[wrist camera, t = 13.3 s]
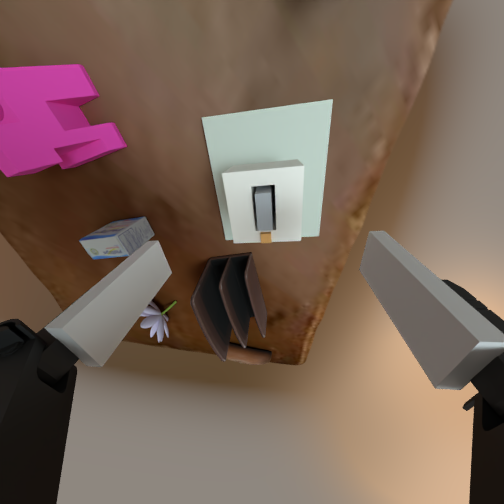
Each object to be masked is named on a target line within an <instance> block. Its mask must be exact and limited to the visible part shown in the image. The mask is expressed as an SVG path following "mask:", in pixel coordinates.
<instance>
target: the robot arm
mask: <svg viewBox="0 0 504 504" xmlns="http://www.w3.org/2000/svg"><path fill="white" fill-rule="evenodd" d="M359 270H360V272H361V273H362V275H363V276H364V278H365V279H366V281H367V283H368V284H369V286H370V287H371V289H372V290H373V292H374V294H375V295H376V297H377V298H378V300H379V301H380V303H381V305H382V306H383V308H384V309H385V311H386V312H387V314H388V315H389V317H390V319H391V320H392V322H393V323H394V325H395V326H396V328H397V329H398V331H399V333H400V334H401V336H402V337H403V339H404V340H405V342H406V344H407V345H408V347H409V348H410V350H411V351H412V353H413V355H414V356H415V358H416V359H417V361H418V362H419V364H420V366H421V367H422V369H423V370H424V372H425V373H426V375H427V377H428V378H429V380H430V381H431V383H432V384H433V386H434V387H435V388H437V389H453V390H461V389H462V388H463V387H464V386H466V385H467V384H468V383H469V382H470V381H471V383H472V384H473V385H474V386H475V387H476V389H477V390H478V391H479V393H477V394H476V395H475V396H473V397H472V398H471V399H469V400H468V401H467V402H466V403H465V404H464V406H463V409H465V410H466V411H467V410H469V409H470V408H472V407H473V406H474V419H473V440H472V441H473V442H472V461H471V479H470V500H469V504H504V321H503V320H502V319H501V318H500V317H499V316H497V315H496V314H495V313H493V312H492V311H491V310H488V309H487V307H486V306H485V305H484V304H482V303H481V302H480V301H477V300H476V298H475V297H474V296H472V295H471V294H470V293H469V292H467V291H466V290H465V289H464V288H462V287H460V286H458V285H456V284H454V283H452V282H451V281H449V280H441V279H439V278H438V277H437V276H436V275H435V274H434V273H432V272H431V271H430V270H429V269H428V268H426V266H424V265H423V264H422V263H421V262H419V260H417V259H416V258H415V257H414V256H413V255H412V254H410V253H409V252H408V251H407V250H406V249H405V248H403V247H402V246H401V245H400V244H399V243H398V242H396V241H395V240H394V239H393V238H392V237H391V236H390V235H388V234H387V233H386V232H385V231H370V232H369V235H368V239H367V242H366V246H365V250H364V254H363V257H362V261H361V265H360V269H359ZM171 273H172V272H171V269H170V267H169V265H168V262H167V260H166V258H165V255H164V253H163V251H162V248H161V246H160V244H159V241H147V242H146V243H145V244H144V245H143V246H141V247H140V248H139V249H138V250H137V251H135V252H134V253H133V254H132V255H131V256H129V257H128V258H127V259H126V260H125V261H123V262H122V263H121V264H120V265H119V266H117V267H116V268H115V269H114V270H113V271H111V272H110V273H109V274H108V275H107V276H105V277H104V278H103V279H102V280H101V281H100V282H98V283H97V284H96V285H95V286H94V287H92V288H91V289H90V290H88V291H87V292H86V293H85V294H83V295H82V296H81V297H80V298H79V299H77V300H76V301H75V302H74V303H73V304H72V305H71V306H69V307H68V308H67V309H65V310H64V311H63V312H62V313H61V314H59V315H58V316H57V317H56V318H55V319H53V320H52V321H51V322H50V323H49V324H48V325H46V326H45V327H44V328H43V329H42V330H40V331H39V332H38V333H35V332H34V331H32V330H31V329H30V328H29V327H28V326H27V325H25V324H24V323H23V322H22V321H20V320H19V319H10V320H7V321H4V322H1V323H0V504H56V502H57V496H58V490H59V483H60V477H61V470H62V464H63V458H64V452H65V446H66V445H65V444H66V439H67V433H68V426H69V420H70V414H71V408H72V401H73V394H74V388H75V382H76V375H77V368H76V366H74V364H75V363H76V362H77V361H78V359H80V360H81V361H82V362H83V363H84V364H85V365H86V366H94V367H102V366H103V365H104V364H105V362H106V361H107V359H108V358H109V357H110V355H111V354H112V353H113V351H114V350H115V349H116V347H117V346H118V345H119V343H120V342H121V341H122V339H123V338H124V337H125V335H126V334H127V333H128V331H129V330H130V329H131V327H132V326H133V325H134V323H135V322H136V320H137V319H138V318H139V316H140V315H141V314H142V312H143V311H144V310H145V308H146V307H147V306H148V304H149V303H150V302H151V300H152V299H153V298H154V296H155V295H156V294H157V292H158V291H159V290H160V288H161V287H162V285H163V284H164V283H165V281H166V280H167V279H168V277H169V276H170V275H171Z"/></svg>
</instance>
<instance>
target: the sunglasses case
mask: <svg viewBox="0 0 504 504" xmlns="http://www.w3.org/2000/svg"><path fill="white" fill-rule="evenodd" d="M271 354H272V352H270V351H265V350H257V349H251V348H247V347H246V348H243V347H242V346H238V345H235V344H230V343H229V347H228V352H227V357H226V358H227V359H229V360H232V361H236V362H239V363H245V364H251V365H257V364H265V363H268V362H269V361H270V359H271Z"/></svg>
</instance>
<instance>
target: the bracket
mask: <svg viewBox="0 0 504 504" xmlns="http://www.w3.org/2000/svg"><path fill="white" fill-rule="evenodd" d="M97 97H99V94H98V92H97V90H96V88H95V87H94V85H93V83H92V81H91V79H90V77H89V76H88V74H87V72H86V70H85V68H84V67H83V66H82V65H79V64H72V65H51V66H31V67H11V68H0V170H1V171H2V172H3V173H4V174H5V175H6V176H7V177H13V176H20V175H26V174H33V173H37V172H39V171H42V170H44V169H46V168H49V167H51V166H54V165H56V164H59V165H60V167H61V168H62V169H67V168H74V167H77V166H80V165H82V164H85V163H87V162H90V161H92V160H95V159H97V158H100V157H103V156H105V155H108V154H110V153H113V152H115V151H118V150H120V149H123V148H125V147H127V145H126V143H125V141H124V139H123V138H122V136H121V134H120V132H119V130H118V129H117V127H116V125H115V123H105V124H100V125H94V126H90V124H89V123H88V121H87V119H86V118H85V116H84V114H83V113H82V111H81V109H80V108H79V106H81V105H83V104H85V103H87V102H89V101H91V100H93V99H95V98H97Z"/></svg>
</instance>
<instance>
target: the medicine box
mask: <svg viewBox="0 0 504 504" xmlns="http://www.w3.org/2000/svg"><path fill="white" fill-rule="evenodd" d="M154 235H155V234H154V232H153V230H152V229H151V227H150V225H149V223H148V221H147V219H146V217H138V218H132V219H125V220H118V221H113V222H111V223H110V224H108V225H106V226H104V227H102V228H100V229H98V230H96V231H95V232H93V233H91V234H89V235H87V236H85V237H83V238H82V239H80V240H79V241H80V243H81V244H82V246H83V247H84V248H85V250H86V251H87V252H88V254H89V255H90V256H91V257H92V258H93V259H103V258H112V257H122V256H130V255H131V254H133V253H134V252H135V251H136V250H137V249H139V248H140V247H141V246H142V245H143V244H144V243H146V242H147V241H148V240H149V239H150V238H152V237H153V236H154Z"/></svg>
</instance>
